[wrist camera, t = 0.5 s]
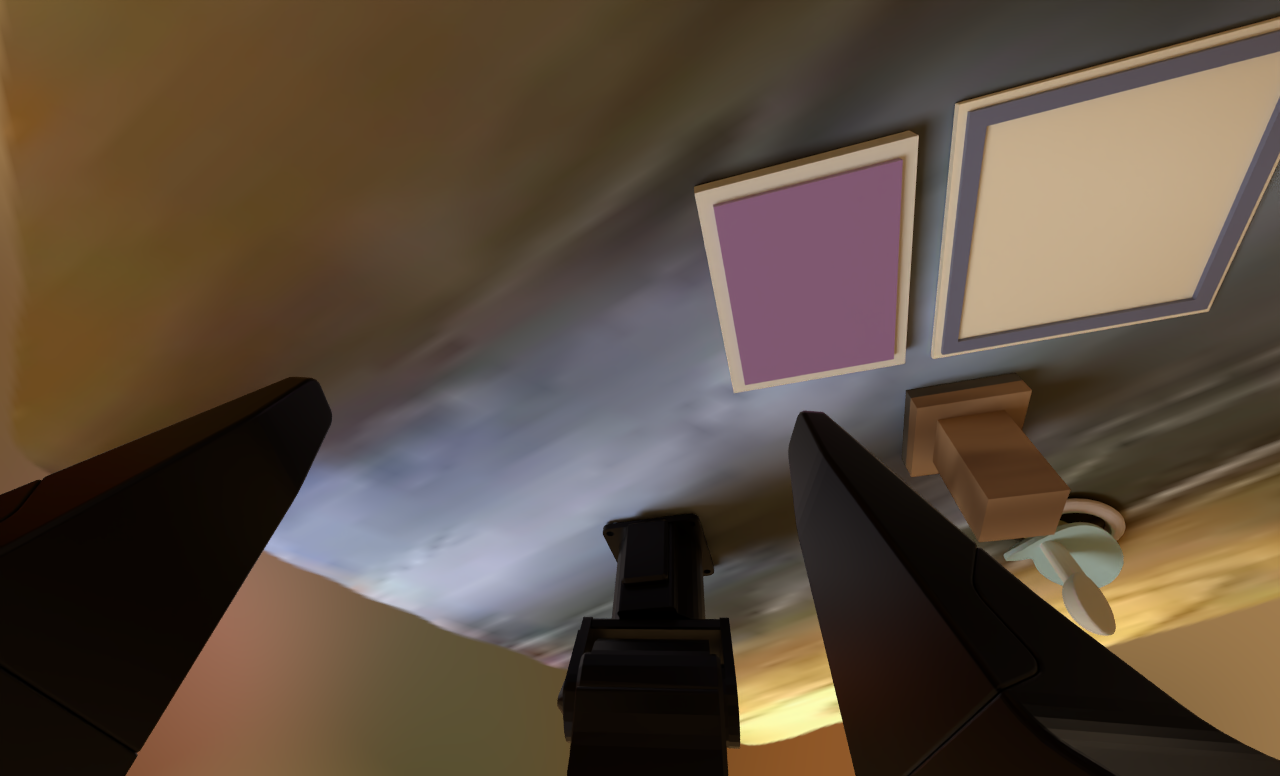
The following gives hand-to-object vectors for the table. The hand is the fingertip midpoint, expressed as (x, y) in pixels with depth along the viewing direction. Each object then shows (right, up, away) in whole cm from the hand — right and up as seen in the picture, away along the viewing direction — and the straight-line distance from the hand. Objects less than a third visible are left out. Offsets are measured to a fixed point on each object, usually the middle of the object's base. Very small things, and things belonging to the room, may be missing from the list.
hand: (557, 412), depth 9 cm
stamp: (+18, -1, +17) cm, 25 cm away
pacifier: (+28, -8, +22) cm, 37 cm away
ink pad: (+9, +5, +12) cm, 16 cm away
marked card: (+19, +7, +10) cm, 23 cm away
